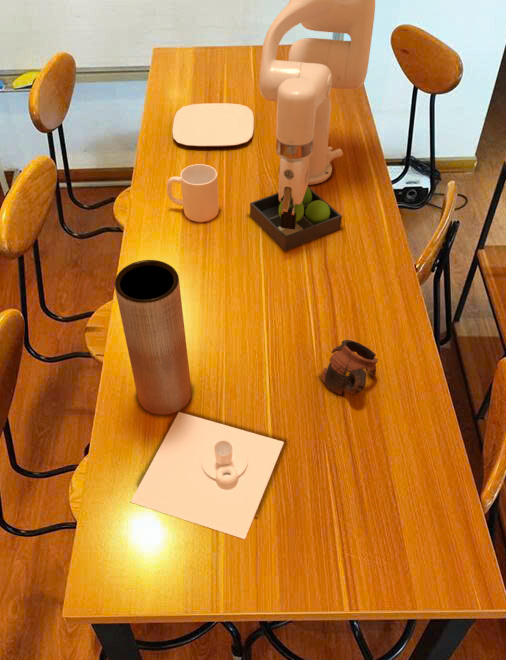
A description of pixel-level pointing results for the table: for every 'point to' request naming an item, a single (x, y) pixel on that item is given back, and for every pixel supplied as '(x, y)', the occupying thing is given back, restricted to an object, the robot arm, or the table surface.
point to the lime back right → (317, 212)
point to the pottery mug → (349, 368)
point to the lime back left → (307, 197)
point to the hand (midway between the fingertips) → (290, 219)
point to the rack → (304, 230)
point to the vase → (155, 334)
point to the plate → (213, 125)
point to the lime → (298, 210)
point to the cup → (197, 192)
